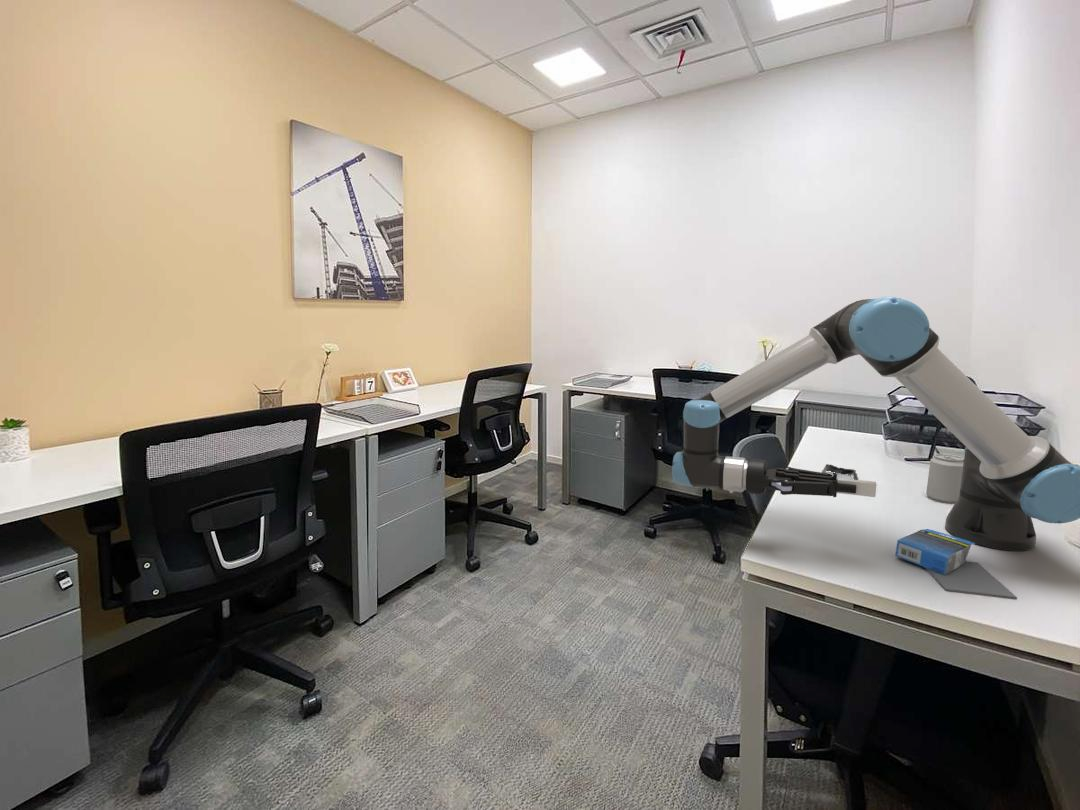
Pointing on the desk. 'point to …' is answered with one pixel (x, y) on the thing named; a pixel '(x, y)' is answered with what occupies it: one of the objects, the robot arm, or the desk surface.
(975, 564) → the felt mat
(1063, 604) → the desk surface
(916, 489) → the desk surface
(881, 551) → the desk surface
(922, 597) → the desk surface
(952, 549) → the label tape box
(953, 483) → the can
